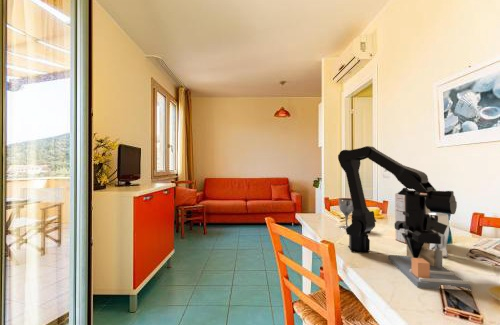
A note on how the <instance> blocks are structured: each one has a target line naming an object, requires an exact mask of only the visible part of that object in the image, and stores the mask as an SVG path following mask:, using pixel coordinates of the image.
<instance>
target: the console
mask: <svg viewBox="0 0 500 325" xmlns="http://www.w3.org/2000/svg"><path fill="white" fill-rule="evenodd" d="M388 260H389V262H391V263H392V264H393V265H394V266H395V267H396V268H397V269H398V270H399V271H400V272H401V273H402V274H403V275H404V276H405V277H406V278H407V279H408V280H409V281H410V282H412V284H414V286H415V287H416V288H418V289H419V288H421V289H434V290H440V289H439V286H440V285H451V286H456V287H465V288H468V289H470V290H471V291H472V285H471V284H469V283H468V281H467V280H464V279H462V278H461V277H459V276H458V275H456V274H455V272H453V271H450V270H449V269H447V268H446V267H444V266H443V257H442V250H436V266H431V265H430V278H418V277H416V276H415V275H414V274H413V273H412V272H411V267H412V258H411V257H408V256H407V255H400V254H399V255H398V254H388Z"/></svg>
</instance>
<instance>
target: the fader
mask: <svg viewBox="0 0 500 325" xmlns="http://www.w3.org/2000/svg"><path fill="white" fill-rule="evenodd" d="M411 272H412V273H413V274H414V275H415V276H416V277H418V278H430V263H428V262H427V261H426V260H424V259H423V258H412V267H411Z"/></svg>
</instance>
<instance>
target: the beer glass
mask: <svg viewBox="0 0 500 325" xmlns="http://www.w3.org/2000/svg"><path fill="white" fill-rule="evenodd" d="M426 214H429V216H431V217H434V218H436V221H437V222H439V223H442V224H445V225H447V228H446V231H445V233H444V235H443V234H440V233H439V232H436V231H434V230H431V231H432V232H435V233H437V234H438V235H439V236H440V237H441V244H430V243H428V249H430V250H433V251H436V250H442V258H447V257H449V252H448V246H447V245H448V244H447V243H448V239H449V233H450V221H449V214H446V213H438V212H429V213H426Z"/></svg>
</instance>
